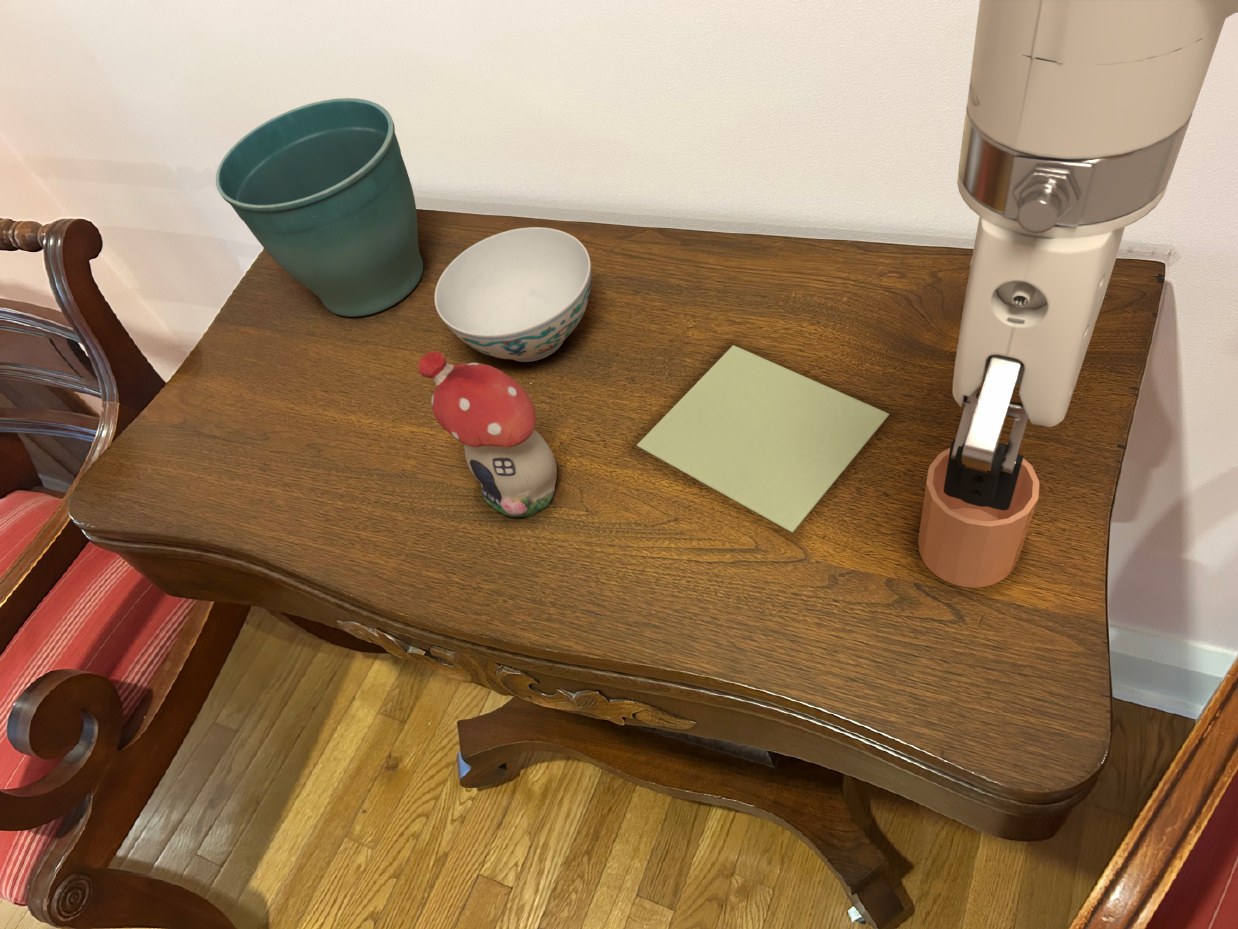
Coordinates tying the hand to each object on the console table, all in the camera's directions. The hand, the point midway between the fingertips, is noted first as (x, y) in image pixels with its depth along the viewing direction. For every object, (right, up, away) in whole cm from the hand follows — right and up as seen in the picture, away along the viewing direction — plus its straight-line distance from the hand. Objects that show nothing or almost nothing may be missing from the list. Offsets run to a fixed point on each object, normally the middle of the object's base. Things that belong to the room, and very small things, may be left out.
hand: (1000, 429), depth 46 cm
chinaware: (-29, +11, +39) cm, 50 cm away
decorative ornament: (-29, -4, +28) cm, 41 cm away
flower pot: (-48, +18, +50) cm, 72 cm away
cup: (+5, -8, +16) cm, 19 cm away
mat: (-9, +1, +26) cm, 28 cm away
